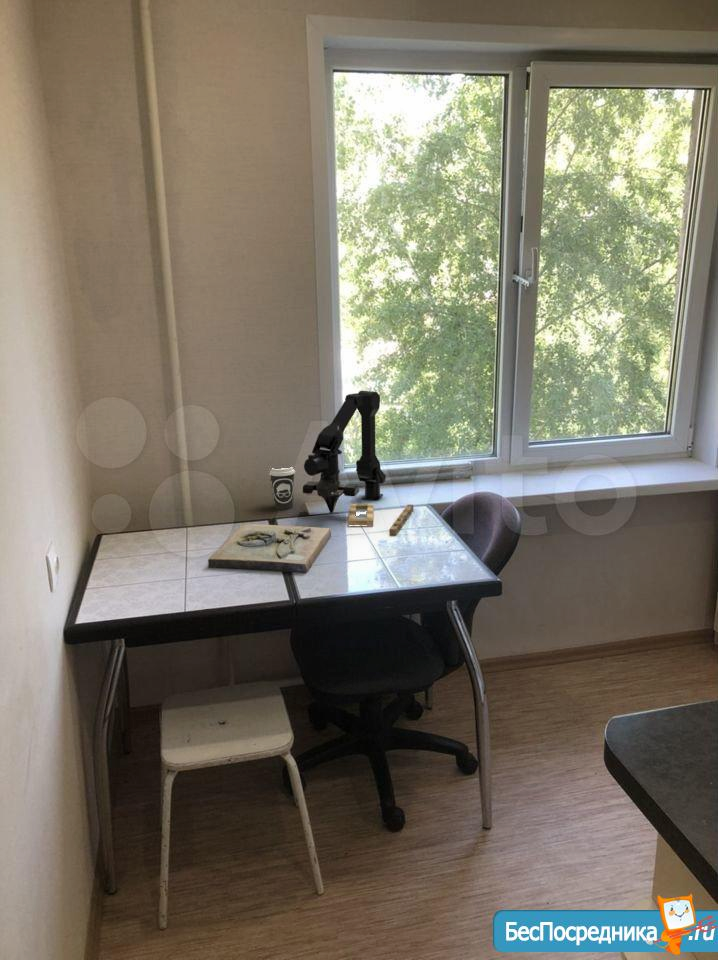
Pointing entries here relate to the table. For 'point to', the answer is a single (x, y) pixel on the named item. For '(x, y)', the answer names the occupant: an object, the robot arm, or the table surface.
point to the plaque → (271, 548)
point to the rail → (401, 520)
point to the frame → (362, 518)
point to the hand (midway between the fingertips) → (331, 512)
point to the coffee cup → (283, 487)
